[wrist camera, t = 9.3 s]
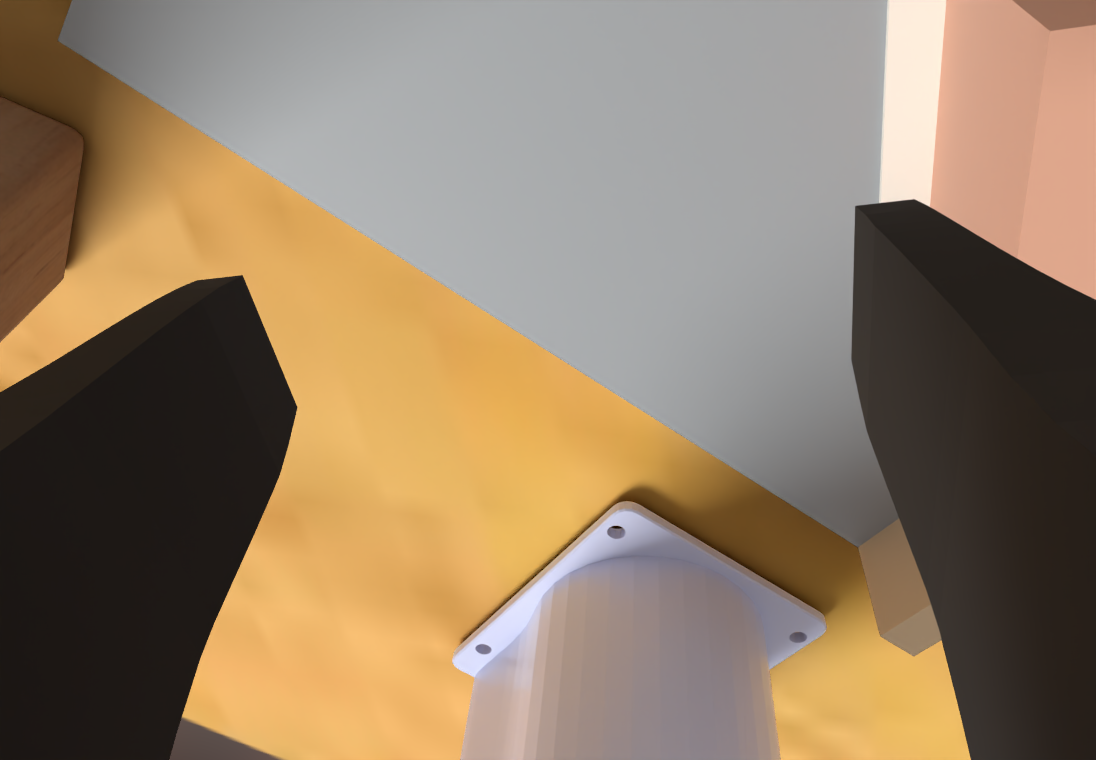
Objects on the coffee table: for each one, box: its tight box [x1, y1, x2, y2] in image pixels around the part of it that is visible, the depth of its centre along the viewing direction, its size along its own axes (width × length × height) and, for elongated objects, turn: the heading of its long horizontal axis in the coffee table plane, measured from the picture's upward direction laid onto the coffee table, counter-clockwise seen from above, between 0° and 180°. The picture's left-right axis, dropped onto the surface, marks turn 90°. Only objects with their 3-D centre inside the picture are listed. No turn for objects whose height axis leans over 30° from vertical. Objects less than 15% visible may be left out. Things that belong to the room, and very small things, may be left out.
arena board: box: [58, 0, 942, 656], centre depth 17 cm, size 18×24×4 cm
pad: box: [879, 0, 946, 207], centre depth 17 cm, size 7×7×1 cm
